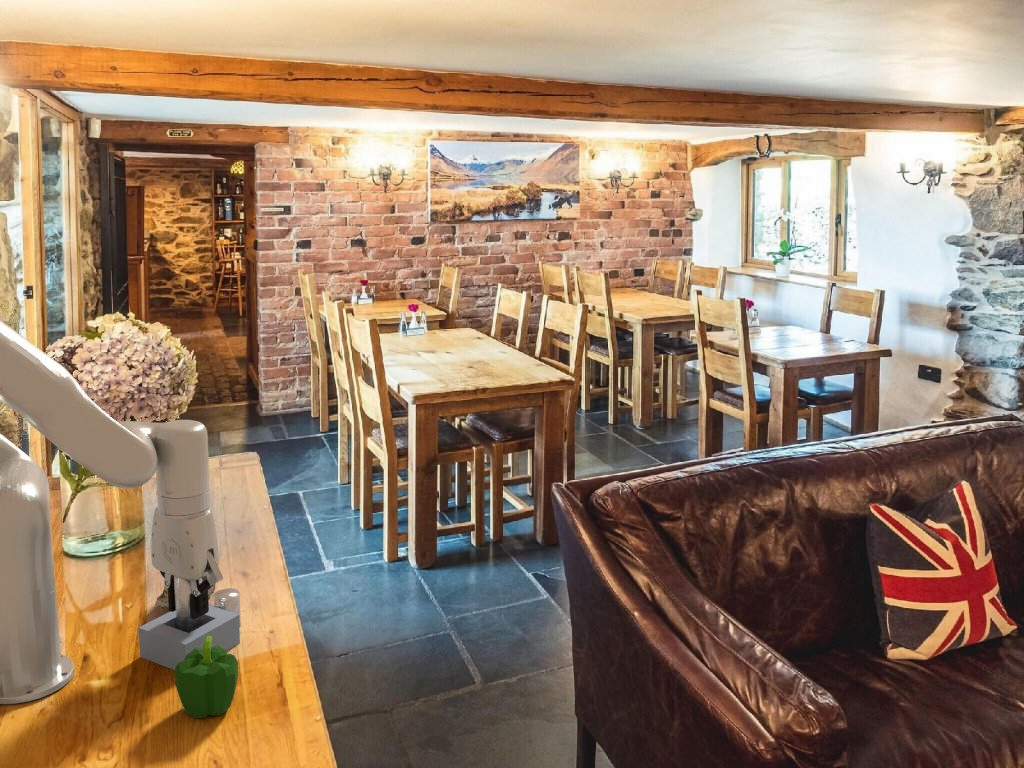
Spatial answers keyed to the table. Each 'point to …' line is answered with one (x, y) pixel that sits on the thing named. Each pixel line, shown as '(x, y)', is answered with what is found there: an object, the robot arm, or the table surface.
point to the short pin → (228, 601)
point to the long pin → (185, 606)
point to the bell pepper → (206, 680)
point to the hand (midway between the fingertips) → (188, 610)
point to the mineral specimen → (163, 598)
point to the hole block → (186, 636)
